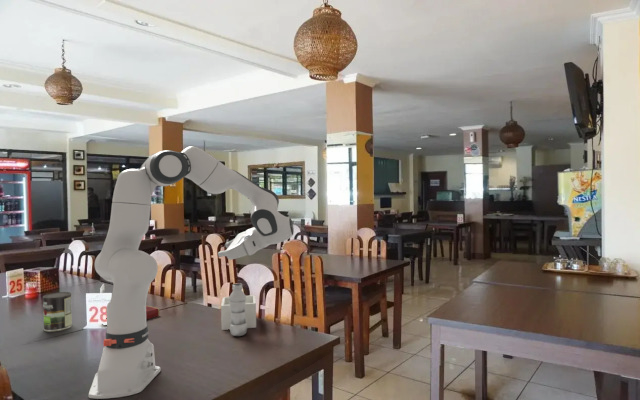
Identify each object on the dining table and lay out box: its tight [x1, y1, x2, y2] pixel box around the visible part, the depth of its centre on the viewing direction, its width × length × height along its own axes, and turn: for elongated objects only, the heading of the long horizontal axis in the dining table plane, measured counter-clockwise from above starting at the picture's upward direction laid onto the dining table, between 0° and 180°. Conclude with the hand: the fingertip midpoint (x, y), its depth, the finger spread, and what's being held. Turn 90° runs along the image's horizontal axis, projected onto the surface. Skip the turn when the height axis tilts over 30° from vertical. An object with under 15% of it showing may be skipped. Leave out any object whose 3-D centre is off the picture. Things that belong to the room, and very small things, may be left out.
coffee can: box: [42, 291, 73, 333], centre depth 175 cm, size 10×10×14 cm
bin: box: [220, 294, 257, 331], centre depth 175 cm, size 14×14×10 cm
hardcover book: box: [106, 305, 160, 321], centre depth 184 cm, size 12×21×4 cm, turn 148°
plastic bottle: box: [228, 283, 248, 337], centre depth 161 cm, size 6×7×20 cm
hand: (222, 250), depth 161 cm, fingers open, 8 cm apart
